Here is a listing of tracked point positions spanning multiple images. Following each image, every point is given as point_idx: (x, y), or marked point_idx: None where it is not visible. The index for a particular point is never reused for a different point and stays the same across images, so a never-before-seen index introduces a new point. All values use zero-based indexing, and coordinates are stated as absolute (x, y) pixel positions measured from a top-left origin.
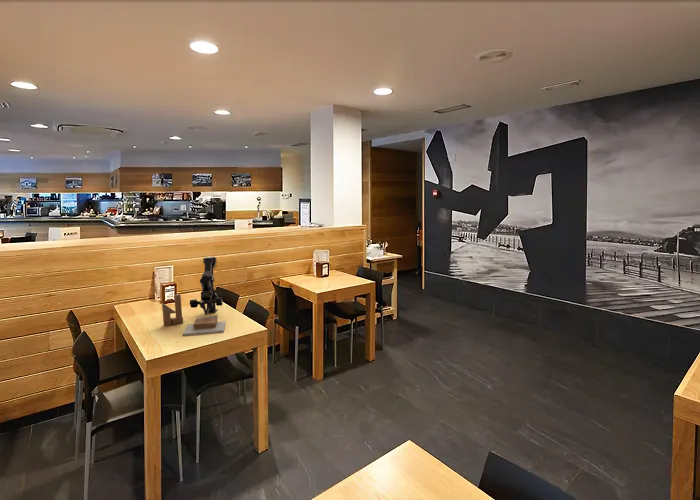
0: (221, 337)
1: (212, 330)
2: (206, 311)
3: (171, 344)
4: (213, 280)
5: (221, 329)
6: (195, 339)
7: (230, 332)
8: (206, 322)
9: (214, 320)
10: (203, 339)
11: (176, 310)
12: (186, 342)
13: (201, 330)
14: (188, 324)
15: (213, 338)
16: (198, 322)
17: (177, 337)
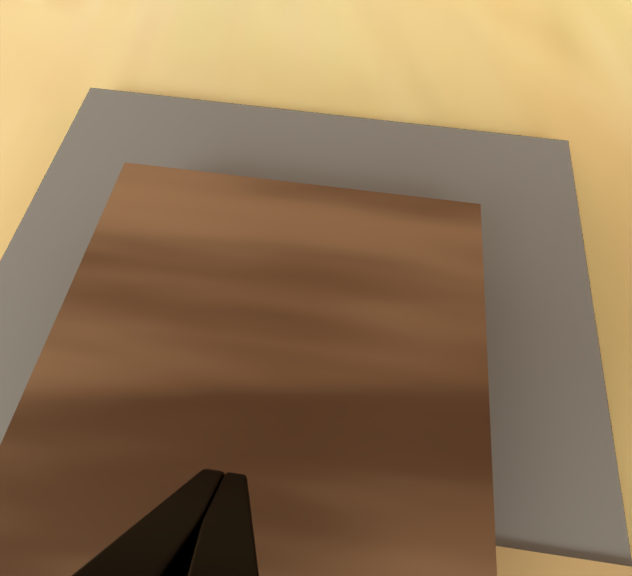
0: (164, 3)
1: (214, 121)
2: (173, 520)
3: (599, 7)
4: None
5: (105, 117)
6: (400, 35)
7: (39, 80)
8: (263, 213)
9: (107, 262)
10: (326, 14)
11: None
12: (473, 4)
13: (347, 168)
14: (612, 561)
15: (237, 6)
16: (405, 263)
17: (605, 139)
